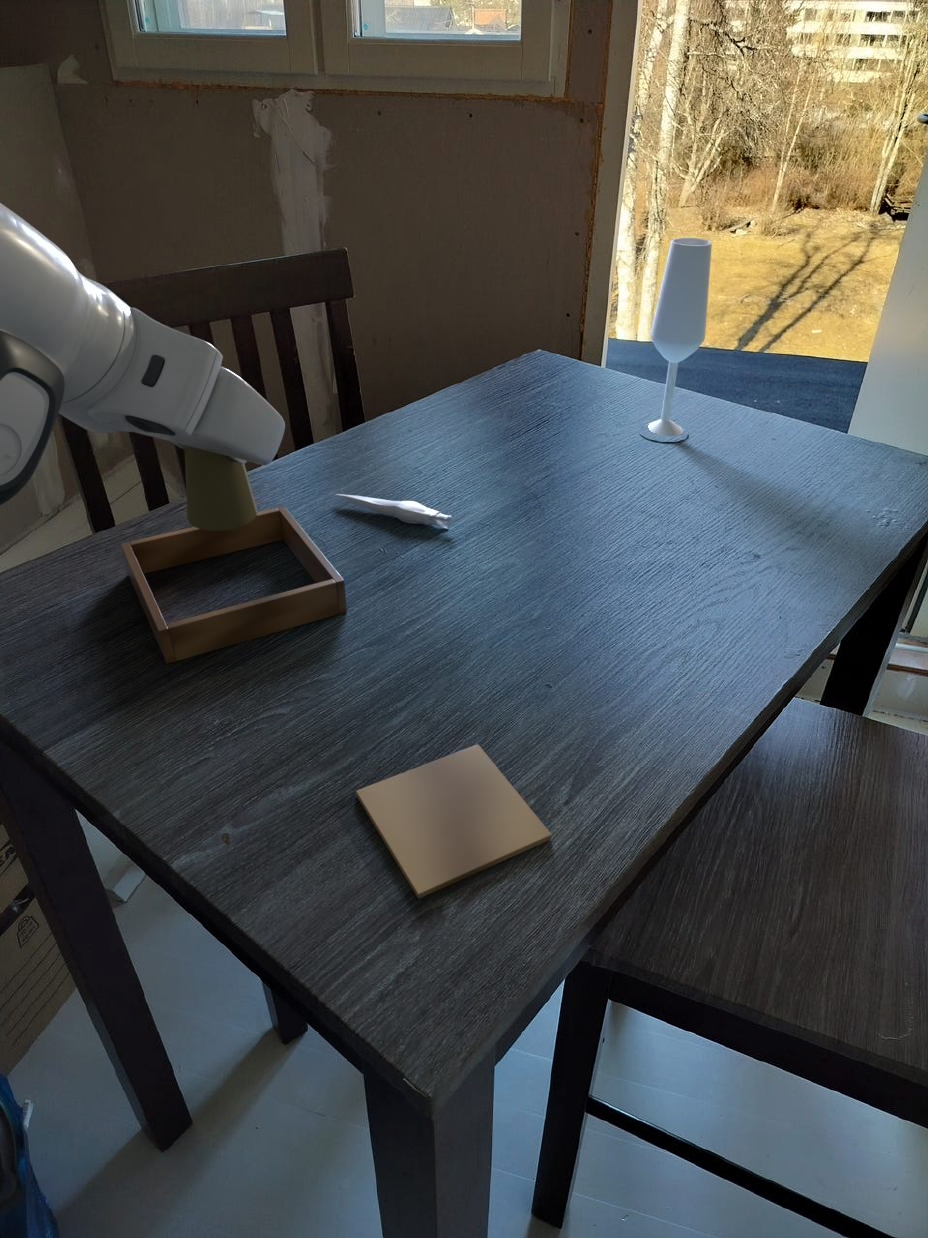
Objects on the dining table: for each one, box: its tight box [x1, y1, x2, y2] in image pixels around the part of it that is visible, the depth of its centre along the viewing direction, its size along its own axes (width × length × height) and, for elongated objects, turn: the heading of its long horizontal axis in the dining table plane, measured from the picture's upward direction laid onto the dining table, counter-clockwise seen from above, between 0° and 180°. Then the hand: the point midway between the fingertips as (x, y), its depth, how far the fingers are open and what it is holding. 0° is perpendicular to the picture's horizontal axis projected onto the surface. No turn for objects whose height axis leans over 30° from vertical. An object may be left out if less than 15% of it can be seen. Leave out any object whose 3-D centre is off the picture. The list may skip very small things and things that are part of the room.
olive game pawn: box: [184, 445, 259, 531], centre depth 72 cm, size 6×6×11 cm
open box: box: [120, 505, 348, 665], centre depth 81 cm, size 17×17×4 cm
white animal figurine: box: [334, 493, 454, 530], centre depth 94 cm, size 15×3×2 cm, turn 65°
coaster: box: [355, 744, 552, 900], centre depth 59 cm, size 10×10×1 cm
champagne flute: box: [648, 237, 713, 436], centre depth 108 cm, size 7×7×24 cm
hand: (217, 448), depth 72 cm, fingers closed on olive game pawn, 4 cm apart
